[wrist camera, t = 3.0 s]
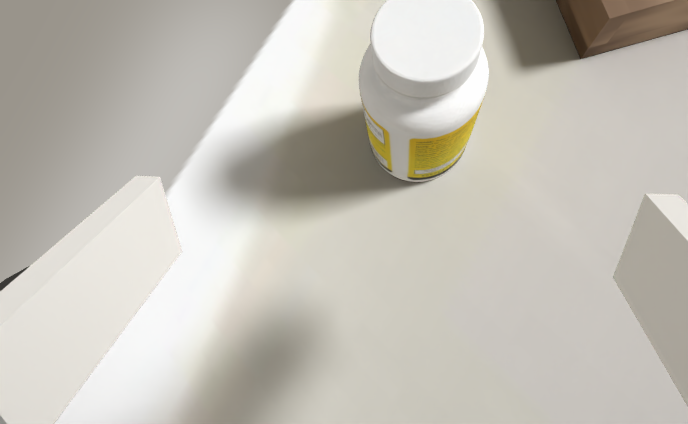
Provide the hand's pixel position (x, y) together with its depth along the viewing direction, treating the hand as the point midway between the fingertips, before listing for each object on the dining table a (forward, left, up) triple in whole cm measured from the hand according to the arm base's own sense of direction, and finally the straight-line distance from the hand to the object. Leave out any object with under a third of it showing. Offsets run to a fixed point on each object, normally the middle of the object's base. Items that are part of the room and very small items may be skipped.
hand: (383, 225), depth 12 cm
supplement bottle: (-3, -7, -12) cm, 14 cm away
